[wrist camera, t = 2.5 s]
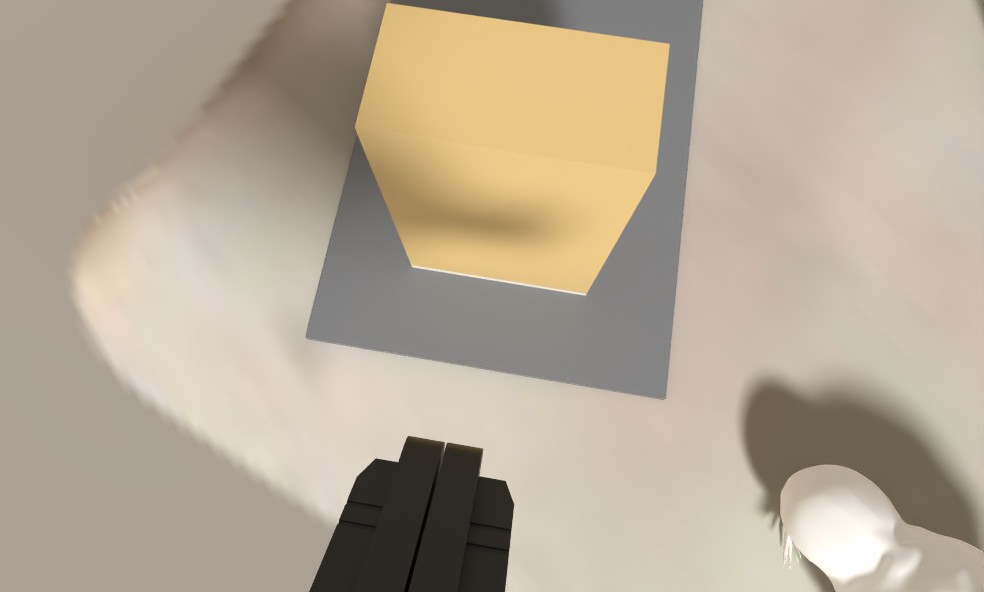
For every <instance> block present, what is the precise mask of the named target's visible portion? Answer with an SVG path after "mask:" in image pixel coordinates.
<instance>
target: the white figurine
mask: <svg viewBox="0 0 984 592" xmlns="http://www.w3.org/2000/svg"><path fill="white" fill-rule="evenodd" d="M876 483H877V482H876ZM780 500H781V507H780V514H781V518H782V522H783V525H784V528H785V536H784V546H783V564H784V562H785V563H786V560H787V553H788V557H789V566H790V568H791V550H792V547H793V546H792V545H793V544H792V541H793V543H794V544H795V546H796V551H797V548H798V549H799V550H800V552H801V553H802V554H803V555H804V556H805V557H807V558H808V560H809V561H811V562H813V563H814V564H815V565H817V566H818V567H819V568H820V569H821V570H822V571H823V572H824V573H825V574H826V575H827V576H828V578H829V579H830V580H831V582H832V584H833V586H834V589H835V592H984V552H983V551H981V550H979V549H978V548H976V547H974V546H972V545H970V544H968V543H966V542H964V541H961V540H958V539H955V538H952V537H948V536H944V535H940V534H937V533H934V532H931V531H929V530H926V529H924V528H922V527H918V526H913V525H909V524H907V523H905V522H904V521H903V520H902V519H901V517H900V515H899V514H898V512H897V511H896V509H895V508H894V506H893V504H892V503H891V501H890V500H889V499H888V497H887V496H886V495H885V494H884V493H883V492H882V490H881V489H880V488H879V487H877V486H876V485H875V484H874V482H872V481H870V480H869V479H868V478H866V477H865V476H863V475H862V474H860V473H858V472H857V471H855V470H852V469H850V468H847V467H843V466H839V465H830V464H826V465H817V466H812V467H808V468H805V469H802V470H800V471H798V472H796V473H794V474H793V475H792V476H791V477H790V478H789V479H788V480H787V482H786V484H785V486H784V488H783V489H782V491H781V495H780ZM800 552H799V554H800ZM795 554H796V553H795ZM797 554H798V552H797ZM796 557H797V556H796ZM800 557H801V556H800ZM797 560H798V559H797ZM798 561H799V560H798ZM798 563H799V562H798ZM783 566H784V565H783ZM785 566H786V565H785Z"/></svg>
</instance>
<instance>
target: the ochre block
mask: <svg viewBox="0 0 984 592" xmlns="http://www.w3.org/2000/svg"><path fill="white" fill-rule="evenodd" d="M669 47H670V44H667V43H660V42H653V41H646V40H639V39H633V38H626V37H619V36H612V35H605V34H598V33H591V32H584V31H577V30H570V29H564V28H557V27H550V26H543V25H536V24H529V23H522V22H515V21H508V20H501V19H495V18H488V17H481V16H474V15H467V14H460V13H453V12H446V11H439V10H432V9H426V8H419V7H412V6H405V5H398V4H391V3H387V4H386V8H385V12H384V16H383V20H382V23H381V27H380V31H379V35H378V39H377V43H376V47H375V50H374V54H373V58H372V62H371V66H370V70H369V74H368V77H367V81H366V85H365V89H364V93H363V97H362V101H361V105H360V108H359V112H358V116H357V120H356V124H355V130H356V132H357V135H358V137H359V139H360V142H361V144H362V147H363V149H364V152H365V154H366V156H367V159H368V161H369V164H370V166H371V169H372V171H373V173H374V176H375V178H376V181H377V183H378V186H379V188H380V190H381V193H382V195H383V198H384V200H385V203H386V205H387V207H388V210H389V212H390V215H391V217H392V220H393V222H394V224H395V227H396V229H397V232H398V234H399V237H400V239H401V241H402V244H403V246H404V249H405V251H406V254H407V256H408V258H409V261H410V263H411V266H412V267H414V268H420V269H426V270H433V271H439V272H445V273H451V274H457V275H463V276H469V277H475V278H481V279H487V280H494V281H500V282H506V283H512V284H518V285H524V286H530V287H536V288H542V289H548V290H555V291H561V292H567V293H573V294H579V295H585V296H586V294H587V292H588V291H589V289H590V287H591V285H592V284H593V282H594V280H595V278H596V277H597V275H598V273H599V271H600V270H601V268H602V266H603V265H604V263H605V261H606V259H607V258H608V256H609V254H610V252H611V251H612V249H613V247H614V245H615V244H616V242H617V240H618V238H619V237H620V235H621V233H622V232H623V230H624V228H625V226H626V225H627V223H628V221H629V219H630V218H631V216H632V214H633V212H634V211H635V209H636V207H637V205H638V204H639V202H640V200H641V199H642V197H643V195H644V193H645V192H646V190H647V188H648V186H649V185H650V183H651V181H652V179H653V178H654V176H655V174H656V166H657V157H658V148H659V139H660V130H661V120H662V111H663V102H664V93H665V84H666V75H667V65H668V56H669Z"/></svg>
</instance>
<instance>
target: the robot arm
mask: <svg viewBox="0 0 984 592" xmlns="http://www.w3.org/2000/svg"><path fill="white" fill-rule="evenodd" d="M444 448H445V442H440V441H434V440H429V439H423V438H417V437H411V436H408V437H407V439H406V442H405V444H404V447H403V450H402V453H401V456H400V459H399V462H393V461H387V460H382V459H375V460H374V461H373V462H372V463H371V464H370V465H369V466H368V467H367V468H366V469H365V470H364V471H363V472H361V473H360V474H359V475H358V476H357V478H356V480H355V483H354V485H353V488H352V490H351V492H350V495H349V497H348V500H347V504H346V505H345V507H344V509H343V512H342V514H341V517H340V519H339V523H338V525H337V526H336V529H335V531H334V533H333V536H332V538H331V541H330V543H329V546H328V548H327V551H326V553H325V555H324V558H323V560H322V562H321V565H320V567H319V570H318V572H317V575H316V577H315V579H314V582H313V584H312V587H311V589H310V591H309V592H505V586H506V576H507V567H508V557H509V548H510V538H511V529H512V519H513V510H514V503H513V500H512V497H511V495H510V492H509V489H508V486H507V484H506V481H502V480H497V479H491V478H485V477H480V476H479V475H480V468H481V462H482V455H483V449H482V448H476V447H470V446H464V445H459V444H453V443H447V445H446V448H445V452H444Z"/></svg>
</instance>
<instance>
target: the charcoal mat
mask: <svg viewBox="0 0 984 592" xmlns="http://www.w3.org/2000/svg"><path fill="white" fill-rule="evenodd" d="M391 4H398V5H405V6H412V7H419V8H426V9H432V10H439V11H446V12H453V13H460V14H467V15H474V16H481V17H488V18H495V19H501V20H508V21H515V22H522V23H529V24H536V25H543V26H550V27H557V28H564V29H570V30H577V31H584V32H591V33H598V34H605V35H612V36H619V37H626V38H633V39H639V40H646V41H653V42H660V43H667V44H670V47H669V56H668V65H667V75H666V84H665V93H664V102H663V111H662V120H661V130H660V139H659V148H658V157H657V166H656V174H655V176H654V178H653V179H652V181H651V183H650V185H649V186H648V188H647V190H646V192H645V193H644V195H643V197H642V199H641V200H640V202H639V204H638V205H637V207H636V209H635V211H634V212H633V214H632V216H631V218H630V219H629V221H628V223H627V225H626V226H625V228H624V230H623V232H622V233H621V235H620V237H619V238H618V240H617V242H616V244H615V245H614V247H613V249H612V251H611V252H610V254H609V256H608V258H607V259H606V261H605V263H604V265H603V266H602V268H601V270H600V271H599V273H598V275H597V277H596V278H595V280H594V282H593V284H592V285H591V287H590V289H589V291H588V292H587V294H586V296H585V295H579V294H573V293H567V292H561V291H555V290H548V289H542V288H536V287H530V286H524V285H518V284H512V283H506V282H500V281H494V280H487V279H481V278H475V277H469V276H463V275H457V274H451V273H445V272H439V271H433V270H426V269H420V268H414V267H412V266H411V263H410V261H409V258H408V256H407V254H406V251H405V249H404V246H403V244H402V241H401V239H400V237H399V234H398V232H397V229H396V227H395V224H394V222H393V220H392V217H391V215H390V212H389V210H388V207H387V205H386V203H385V200H384V198H383V195H382V193H381V190H380V188H379V186H378V183H377V181H376V178H375V176H374V173H373V171H372V169H371V166H370V164H369V161H368V159H367V156H366V154H365V152H364V149H363V147H362V144H361V142H360V139H359V137H358V135H357V138H356V142H355V146H354V150H353V154H352V158H351V162H350V165H349V169H348V173H347V177H346V181H345V185H344V189H343V193H342V197H341V201H340V204H339V208H338V212H337V216H336V220H335V224H334V228H333V232H332V236H331V239H330V243H329V247H328V251H327V255H326V259H325V263H324V267H323V271H322V275H321V278H320V282H319V286H318V290H317V294H316V298H315V302H314V306H313V310H312V314H311V317H310V321H309V325H308V329H307V333H306V338H307V339H310V340H316V341H322V342H328V343H334V344H340V345H346V346H351V347H357V348H363V349H369V350H375V351H381V352H387V353H392V354H398V355H404V356H410V357H416V358H422V359H428V360H434V361H439V362H445V363H451V364H457V365H463V366H469V367H475V368H480V369H486V370H492V371H498V372H504V373H510V374H516V375H521V376H527V377H533V378H539V379H545V380H551V381H557V382H563V383H568V384H574V385H580V386H586V387H592V388H598V389H604V390H609V391H615V392H621V393H627V394H633V395H639V396H645V397H651V398H656V399H662V400H664V399H666V390H667V379H668V369H669V358H670V348H671V337H672V326H673V316H674V305H675V294H676V284H677V273H678V262H679V252H680V241H681V231H682V220H683V209H684V199H685V188H686V177H687V167H688V156H689V146H690V135H691V124H692V114H693V103H694V92H695V82H696V71H697V60H698V50H699V39H700V29H701V18H702V7H703V0H392V2H391Z"/></svg>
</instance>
